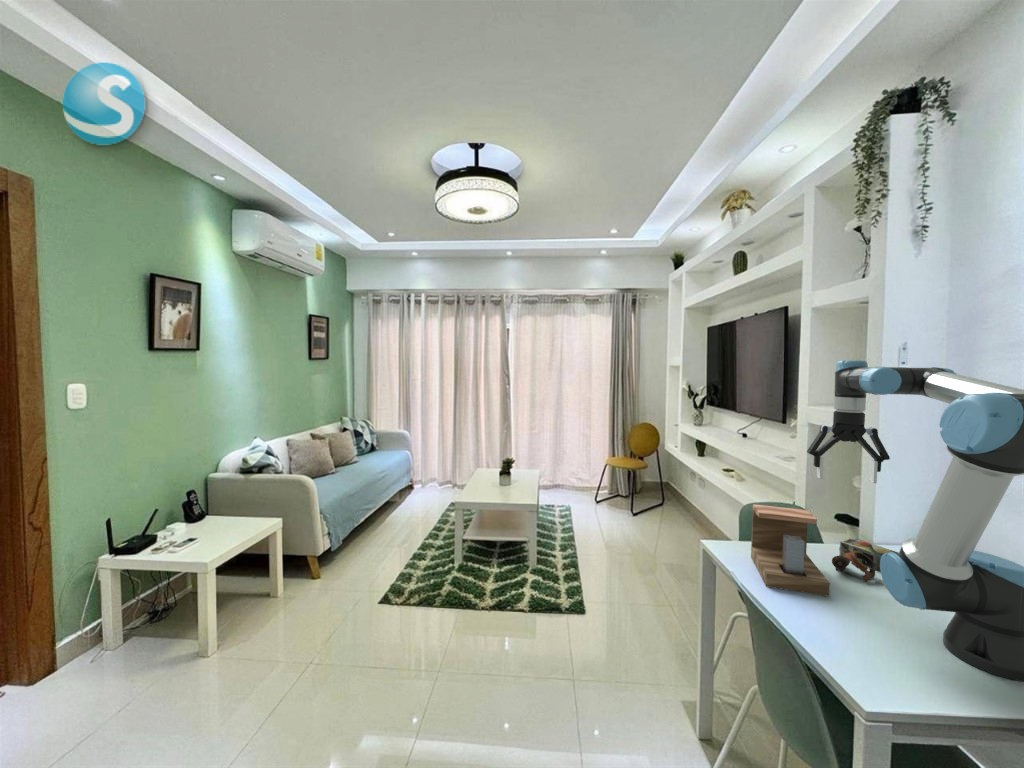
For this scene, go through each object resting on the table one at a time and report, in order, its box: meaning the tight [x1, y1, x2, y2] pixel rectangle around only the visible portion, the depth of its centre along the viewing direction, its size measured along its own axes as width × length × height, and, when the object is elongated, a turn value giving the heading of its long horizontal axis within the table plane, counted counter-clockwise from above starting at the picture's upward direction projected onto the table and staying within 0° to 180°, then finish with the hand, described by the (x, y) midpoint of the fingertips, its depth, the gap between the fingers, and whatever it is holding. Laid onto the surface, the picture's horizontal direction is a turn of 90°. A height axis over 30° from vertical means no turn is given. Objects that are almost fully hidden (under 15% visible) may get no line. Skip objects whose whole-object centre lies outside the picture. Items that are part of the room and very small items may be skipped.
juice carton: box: [838, 537, 899, 573], centre depth 141 cm, size 20×10×6 cm, turn 21°
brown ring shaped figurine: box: [831, 551, 877, 582], centre depth 134 cm, size 12×10×8 cm
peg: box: [782, 535, 805, 576], centre depth 128 cm, size 4×4×14 cm
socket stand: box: [750, 503, 831, 597], centre depth 133 cm, size 21×16×18 cm
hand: (845, 479), depth 129 cm, fingers open, 13 cm apart
